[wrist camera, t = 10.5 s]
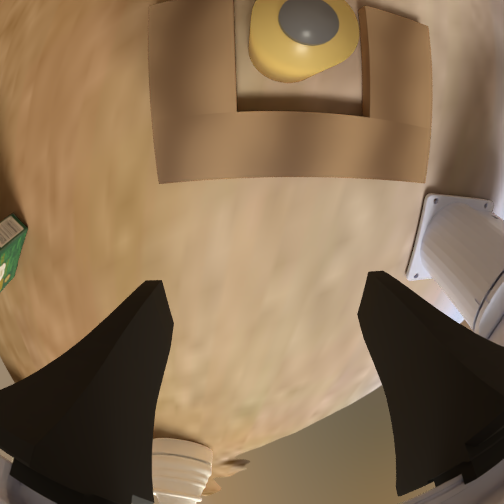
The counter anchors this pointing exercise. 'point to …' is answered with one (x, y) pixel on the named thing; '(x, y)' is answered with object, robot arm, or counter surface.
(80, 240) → the counter surface
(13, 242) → the coffee box
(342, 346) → the counter surface
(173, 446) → the honey pot
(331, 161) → the brown u-shaped board
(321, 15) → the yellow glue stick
